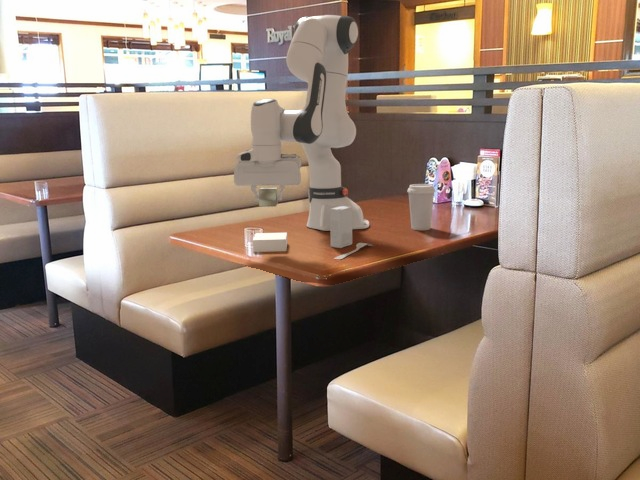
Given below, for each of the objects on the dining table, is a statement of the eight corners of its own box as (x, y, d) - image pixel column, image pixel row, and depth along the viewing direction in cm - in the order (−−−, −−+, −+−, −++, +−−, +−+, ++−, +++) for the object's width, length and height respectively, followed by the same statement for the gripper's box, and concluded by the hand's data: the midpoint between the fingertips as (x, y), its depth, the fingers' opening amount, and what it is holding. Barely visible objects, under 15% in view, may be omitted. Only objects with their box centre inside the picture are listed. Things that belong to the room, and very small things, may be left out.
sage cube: (277, 203, 197) (277, 187, 196) (275, 206, 192) (275, 190, 191) (261, 204, 197) (261, 188, 196) (259, 206, 192) (258, 190, 191)
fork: (332, 268, 182) (331, 259, 181) (367, 245, 198) (366, 237, 197) (340, 269, 180) (339, 260, 180) (375, 246, 197) (374, 238, 196)
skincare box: (342, 243, 201) (341, 205, 198) (353, 245, 198) (352, 206, 195) (329, 246, 196) (328, 208, 194) (341, 248, 194) (340, 209, 191)
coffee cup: (438, 226, 222) (438, 184, 219) (430, 232, 214) (431, 187, 211) (411, 225, 226) (411, 183, 223) (403, 230, 218) (403, 186, 215)
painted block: (287, 244, 202) (286, 232, 202) (286, 252, 193) (285, 239, 192) (255, 245, 202) (255, 233, 201) (253, 253, 193) (252, 240, 192)
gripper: (302, 153, 194) (303, 198, 197) (235, 154, 195) (237, 198, 198) (300, 154, 187) (301, 201, 190) (231, 155, 189) (233, 201, 191)
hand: (268, 199), depth 194 cm, fingers closed on sage cube, 5 cm apart
